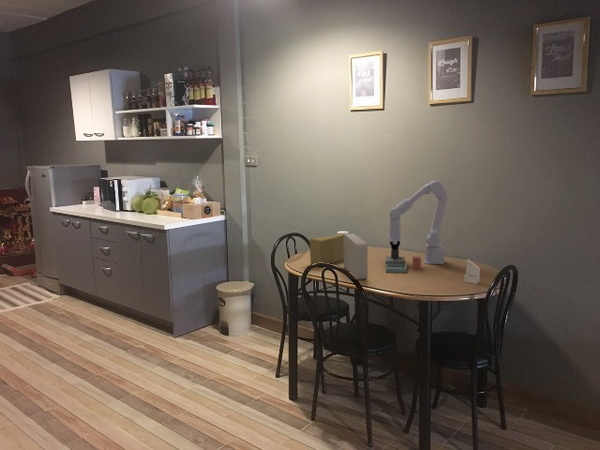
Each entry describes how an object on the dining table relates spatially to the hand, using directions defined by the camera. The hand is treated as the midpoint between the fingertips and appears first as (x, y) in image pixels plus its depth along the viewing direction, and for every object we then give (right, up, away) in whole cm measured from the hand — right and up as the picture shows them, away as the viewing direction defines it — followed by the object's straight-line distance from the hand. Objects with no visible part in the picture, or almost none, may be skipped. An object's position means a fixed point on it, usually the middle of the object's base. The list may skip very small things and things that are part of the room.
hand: (394, 254), depth 276 cm
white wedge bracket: (+28, -11, -41) cm, 51 cm away
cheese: (-35, -5, +2) cm, 35 cm away
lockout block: (+9, -6, -14) cm, 18 cm away
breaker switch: (-1, -1, -3) cm, 3 cm away
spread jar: (-25, 0, +28) cm, 38 cm away
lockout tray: (-3, -7, -17) cm, 18 cm away
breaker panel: (-1, -5, -6) cm, 7 cm away
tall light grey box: (-24, -8, -20) cm, 33 cm away
